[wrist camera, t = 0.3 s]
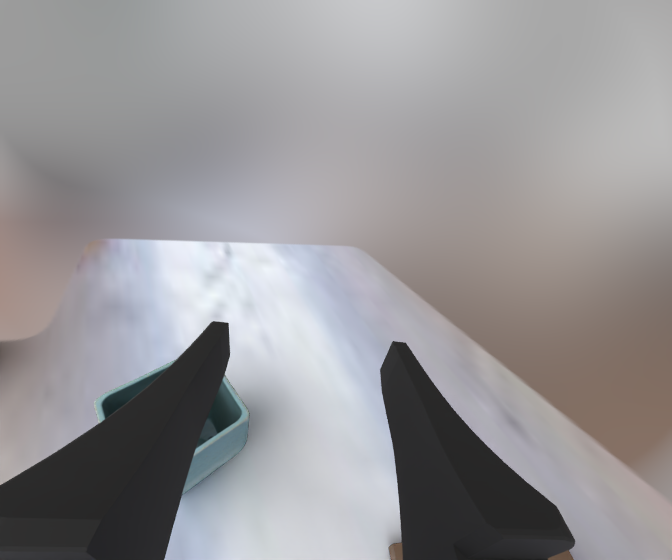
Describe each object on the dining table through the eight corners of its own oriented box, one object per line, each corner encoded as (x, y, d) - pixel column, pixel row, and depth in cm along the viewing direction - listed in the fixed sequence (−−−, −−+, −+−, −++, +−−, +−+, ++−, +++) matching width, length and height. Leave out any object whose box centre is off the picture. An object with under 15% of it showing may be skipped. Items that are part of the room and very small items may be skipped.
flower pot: (130, 445, 27) (91, 398, 22) (219, 393, 32) (206, 343, 27) (159, 538, 22) (118, 507, 17) (258, 459, 27) (252, 415, 22)
